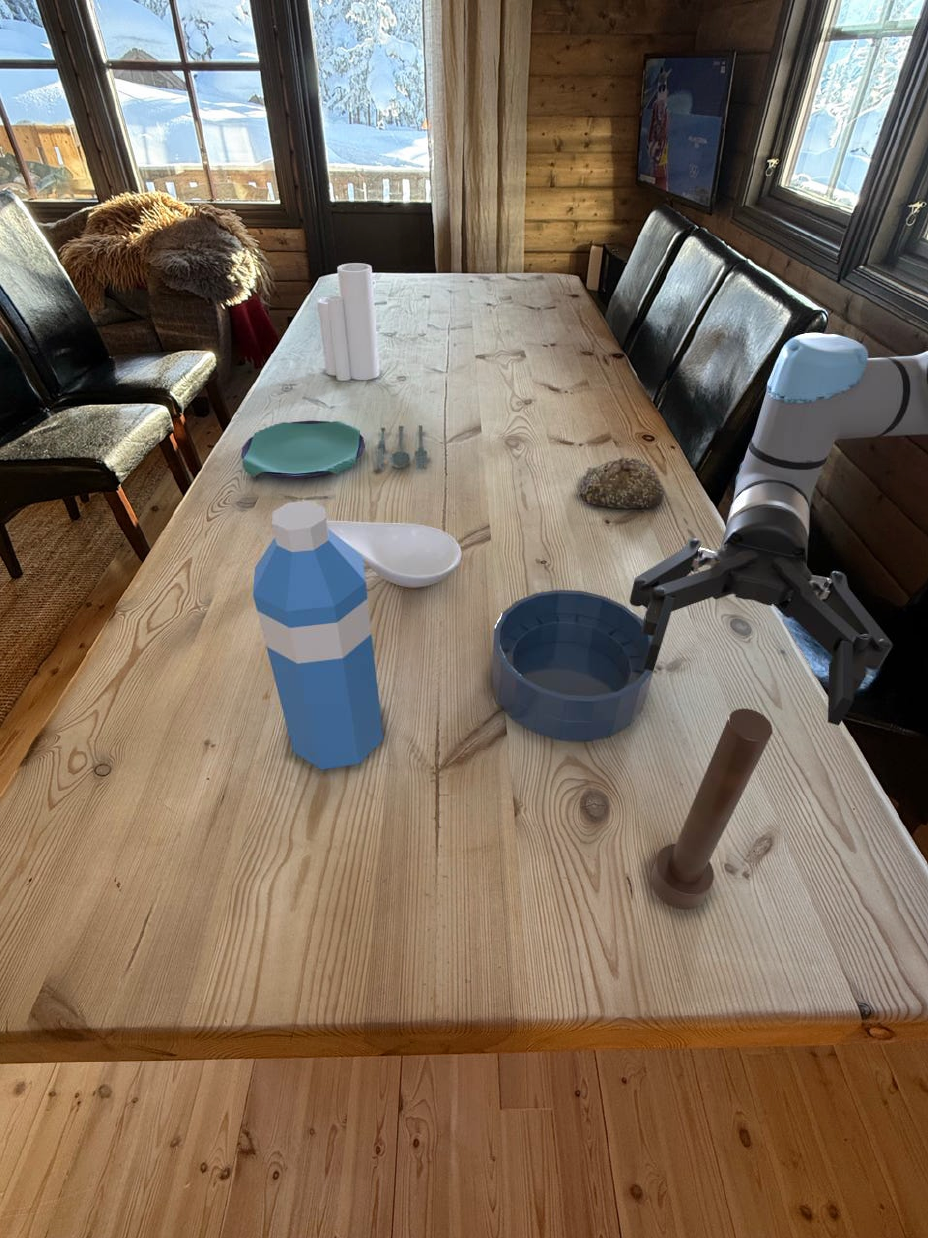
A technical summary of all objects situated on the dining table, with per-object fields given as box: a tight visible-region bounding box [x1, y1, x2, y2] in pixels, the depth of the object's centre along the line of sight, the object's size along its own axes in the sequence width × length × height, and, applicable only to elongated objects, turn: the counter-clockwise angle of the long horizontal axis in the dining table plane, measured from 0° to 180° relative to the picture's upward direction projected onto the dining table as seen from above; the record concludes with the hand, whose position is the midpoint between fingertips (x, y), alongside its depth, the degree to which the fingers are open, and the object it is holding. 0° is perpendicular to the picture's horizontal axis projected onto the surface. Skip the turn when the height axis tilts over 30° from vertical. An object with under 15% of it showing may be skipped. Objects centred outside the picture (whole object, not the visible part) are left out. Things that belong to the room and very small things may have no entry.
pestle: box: [650, 708, 773, 911], centre depth 47 cm, size 4×4×20 cm
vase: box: [316, 262, 380, 382], centre depth 130 cm, size 11×7×20 cm, turn 89°
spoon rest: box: [327, 520, 462, 589], centre depth 82 cm, size 24×12×7 cm, turn 94°
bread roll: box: [579, 456, 665, 510], centre depth 100 cm, size 13×12×5 cm
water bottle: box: [252, 500, 384, 771], centre depth 57 cm, size 9×9×25 cm
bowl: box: [490, 589, 654, 743], centre depth 68 cm, size 16×16×6 cm
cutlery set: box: [240, 420, 428, 479], centre depth 108 cm, size 20×30×2 cm, turn 93°
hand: (742, 684), depth 49 cm, fingers open, 13 cm apart
